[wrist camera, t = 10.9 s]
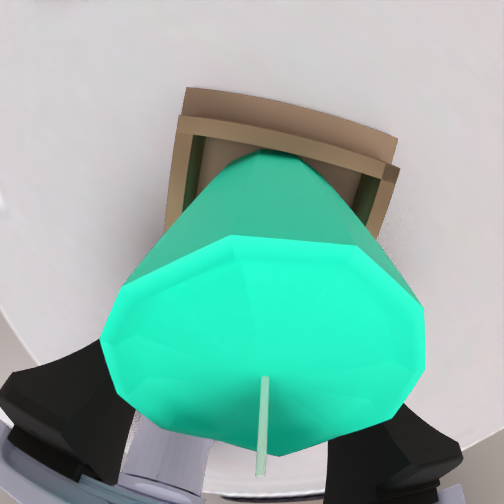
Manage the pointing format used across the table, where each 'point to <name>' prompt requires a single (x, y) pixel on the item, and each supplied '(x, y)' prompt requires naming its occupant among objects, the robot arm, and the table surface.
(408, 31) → the table surface
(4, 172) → the table surface
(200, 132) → the divided wooden tray
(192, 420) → the candle
